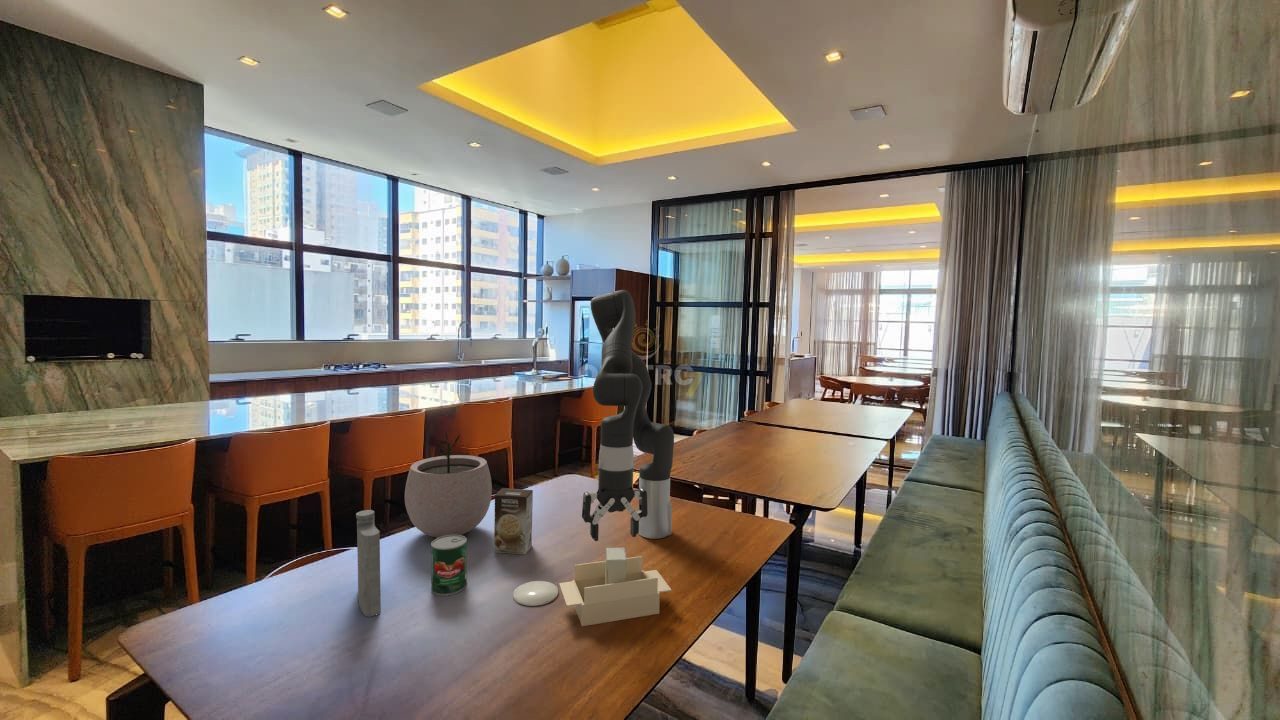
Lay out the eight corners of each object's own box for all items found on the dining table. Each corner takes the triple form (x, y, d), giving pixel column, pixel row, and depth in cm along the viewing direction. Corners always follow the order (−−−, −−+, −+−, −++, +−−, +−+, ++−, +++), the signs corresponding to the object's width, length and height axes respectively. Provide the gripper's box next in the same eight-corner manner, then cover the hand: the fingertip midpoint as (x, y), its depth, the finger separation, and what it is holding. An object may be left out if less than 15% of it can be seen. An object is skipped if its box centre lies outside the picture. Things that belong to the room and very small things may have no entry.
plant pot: (385, 541, 146) (384, 436, 144) (446, 513, 168) (446, 422, 166) (453, 557, 137) (453, 445, 135) (508, 525, 160) (508, 429, 158)
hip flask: (381, 614, 110) (380, 522, 109) (359, 619, 108) (358, 525, 106) (374, 582, 123) (373, 499, 122) (355, 586, 121) (354, 502, 120)
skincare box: (604, 599, 118) (605, 547, 117) (623, 598, 118) (624, 546, 117) (604, 614, 111) (605, 559, 111) (625, 614, 112) (626, 559, 111)
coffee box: (492, 553, 140) (492, 494, 139) (501, 543, 147) (501, 487, 145) (525, 555, 139) (526, 496, 138) (533, 545, 146) (533, 489, 145)
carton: (655, 587, 124) (655, 554, 123) (672, 611, 113) (673, 575, 113) (558, 601, 116) (558, 566, 116) (567, 628, 106) (567, 590, 105)
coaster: (554, 581, 125) (554, 578, 125) (561, 602, 116) (561, 599, 116) (511, 586, 122) (511, 584, 122) (515, 608, 113) (515, 606, 113)
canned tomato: (441, 599, 116) (440, 551, 116) (425, 587, 122) (424, 541, 121) (473, 586, 122) (473, 541, 121) (456, 575, 127) (456, 531, 127)
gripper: (641, 458, 118) (640, 528, 119) (580, 462, 114) (579, 534, 115) (652, 467, 111) (650, 541, 112) (587, 471, 107) (586, 548, 108)
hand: (614, 537), depth 114 cm, fingers open, 8 cm apart
